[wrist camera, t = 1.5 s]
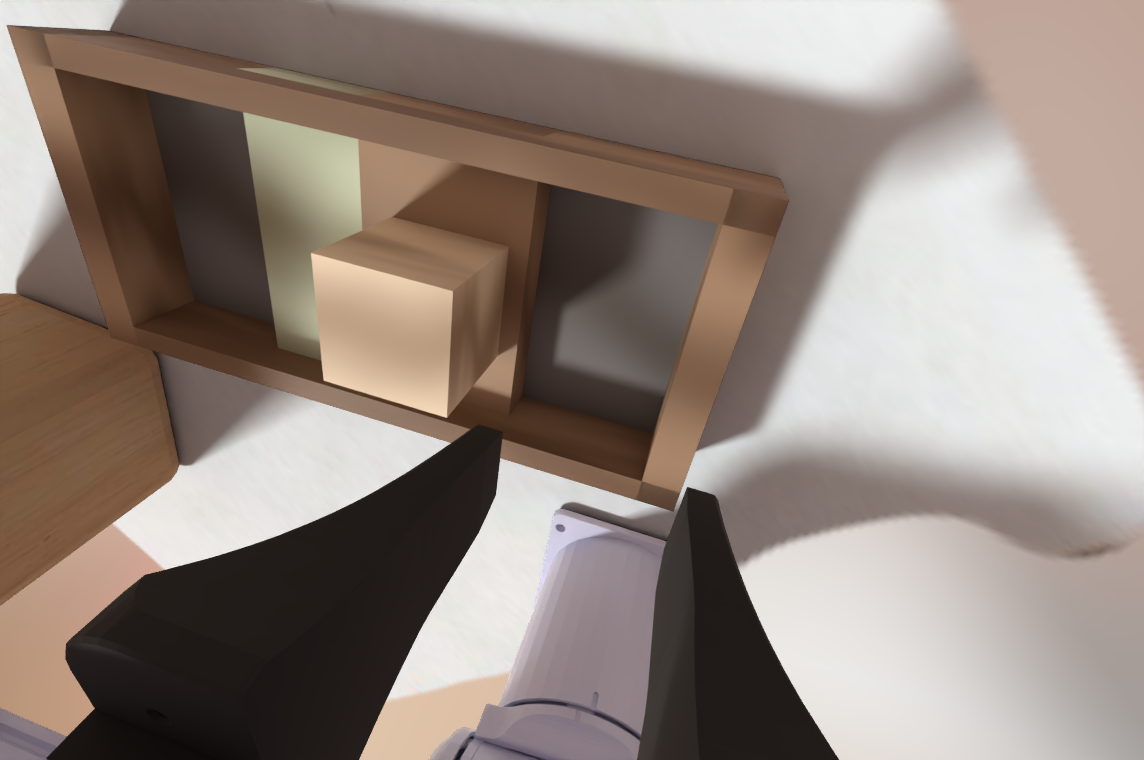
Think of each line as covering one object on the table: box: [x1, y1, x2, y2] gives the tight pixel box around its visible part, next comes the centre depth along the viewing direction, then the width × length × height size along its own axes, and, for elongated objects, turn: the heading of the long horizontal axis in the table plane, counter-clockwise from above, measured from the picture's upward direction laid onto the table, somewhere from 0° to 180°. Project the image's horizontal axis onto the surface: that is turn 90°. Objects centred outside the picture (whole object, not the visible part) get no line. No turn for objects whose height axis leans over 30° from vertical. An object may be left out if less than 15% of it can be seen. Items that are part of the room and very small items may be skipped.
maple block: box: [311, 217, 509, 418], centre depth 19 cm, size 4×4×4 cm
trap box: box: [7, 25, 789, 511], centre depth 21 cm, size 12×26×4 cm, turn 80°
